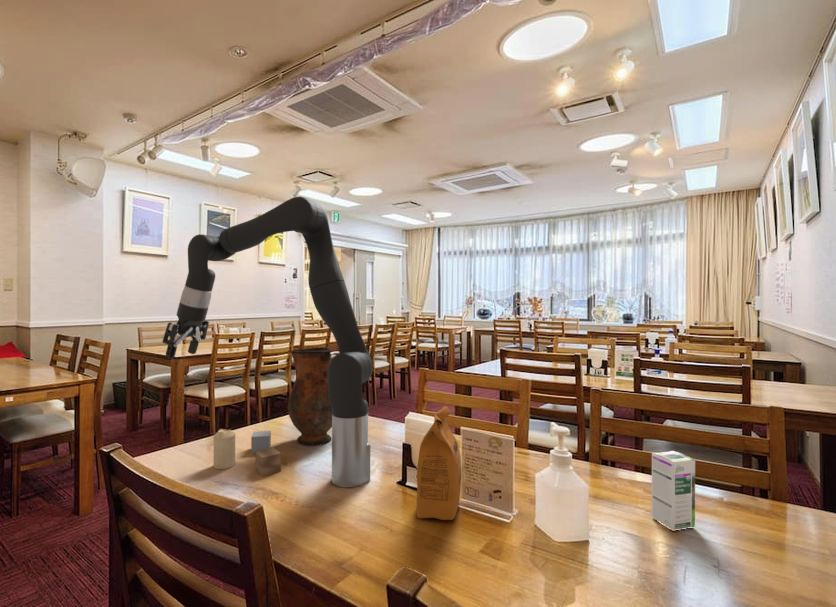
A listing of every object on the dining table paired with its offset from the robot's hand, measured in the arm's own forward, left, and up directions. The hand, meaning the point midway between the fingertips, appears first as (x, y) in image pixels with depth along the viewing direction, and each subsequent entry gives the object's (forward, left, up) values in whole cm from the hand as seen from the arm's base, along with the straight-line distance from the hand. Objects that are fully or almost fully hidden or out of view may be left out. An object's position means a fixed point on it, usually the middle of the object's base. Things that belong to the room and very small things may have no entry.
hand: (181, 355), depth 123 cm
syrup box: (-100, +80, -30) cm, 132 cm away
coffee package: (-57, +56, -30) cm, 85 cm away
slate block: (-22, +3, -30) cm, 37 cm away
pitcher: (-40, +2, -30) cm, 50 cm away
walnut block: (-23, +20, -30) cm, 43 cm away
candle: (-12, +12, -30) cm, 34 cm away
